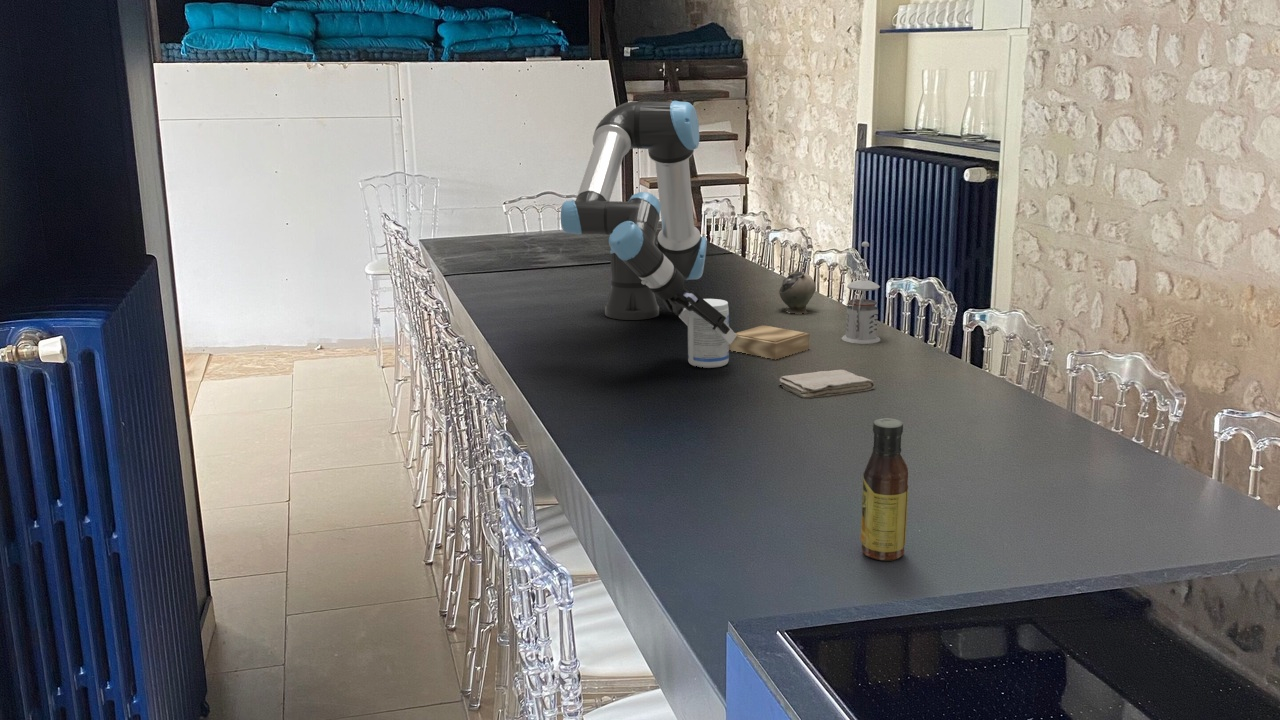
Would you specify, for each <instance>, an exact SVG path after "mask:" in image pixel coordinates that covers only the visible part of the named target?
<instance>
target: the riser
mask: <svg viewBox="0 0 1280 720" xmlns="http://www.w3.org/2000/svg"><path fill="white" fill-rule="evenodd" d="M734 333H735V334H736V335H737V336H736V338H735V339H734V340H733V342H732V343H731V344H729V350H731V351H730V352H733V351H736V352H735V353H737V352H742V353H746V354H745V355H747V354H751V355H750V356H752V355H757V356H761V357H760V358H762V357H765V358H764V359H767V358H771V359H770V360H772V359H775V360H774V361H777V360H776V359H778V360H780V359H779V358H781V359H783V358H782V357H784V358H786V357H785V356H787V357H789V355H790V356H792V354H793V355H796V354H799V353H802V351H803V352H805V350H806V351H808V349H809V350H810V333H808V332H804V331H798V330H792V329H787V328H783V327H782V328H781V327H775V326H771V325H759V326H756V327H752V328H749V329H745V330H741V331H738V332H734ZM798 352H799V353H798ZM742 353H741V354H742ZM795 353H796V354H795ZM757 356H756V357H757Z"/></svg>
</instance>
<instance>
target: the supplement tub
mask: <svg viewBox="0 0 1280 720" xmlns="http://www.w3.org/2000/svg"><path fill="white" fill-rule="evenodd" d="M703 299H704V300H705V301H706V302H707V303H709V304H710V305H711V306H712V307H713V308H715V309H716V310H717V311H718V312H720V313H721V314H722V315H723V316H725V317H726V319H725V321H724V322H725V323H726V324H727V325H728V326H729V327H730V311H729V309H730V308H729V302H728V301H727V300H724V299H720V298H719V299H718V298H703ZM690 305H691V304H689V306H690ZM712 328H713V325H712V324H710V323H709V322H708V321H706V320H705V319H703V318H702V317H701V316H699V315H698V314H696V313H695V312H694V311H688V326H687V361H688V363H689V365H691V366H693V367H696V366H697V367H696V368H698V367H699V368H702V367H703V369H706V368H707V369H711V368H712V369H713V368H714V369H715V368H720V367H723V366H726V365H727V364H728V363H729V360H730V355H729V353H730V351H729V344H728V343H727V342H726V341H725V340H724V339H723V338H722V337H721V336H720V335H719V333H718V332H717V331H716V330H713V329H712Z"/></svg>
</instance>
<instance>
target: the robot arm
mask: <svg viewBox="0 0 1280 720" xmlns="http://www.w3.org/2000/svg"><path fill="white" fill-rule="evenodd" d="M699 129H700V123H699V119H698V114H697V111H696V108H695V106H694V105H693V104H692V103H691V102H688V101H678V100H672V101H646V100H645V101H638V100H635V101H633V100H632V101H628V102H624V103H621V104H620V105H618V106H617V107H614V108H613V109H612V110H610V111H609V112H608V113H607V114H606V115H604V116H603V118H602V119H601V120H599V123H598V124H597V126H596V128H595V130H594V132H593V135H592V144H593V147H592V152H591V154H590V158H589V160H588V163H587V165H586V169H585V172H584V175H583V178H582V181H581V183H580V187H579V190H578V192H577V194H576V195H577V196H576V198H575V199H571V200H566V201H564V202H563V203H562V205H561V209H560V225H561V228H562V230H563V232H564V233H566V234H572V235H579V236H583V235H587V236H589V235H590V236H591V235H593V236H594V235H596V236H598V235H599V236H601V235H603V236H604V235H606V236H608V235H609V237H608V246H609V247H610V251H609V254H610V291H609V295H608V297H607V302H606V304H605V307H604V315H605V317H608V318H609V319H610V318H611V319H613V320H620V321H621V320H624V321H639V320H649V319H653V318H657V317H659V315H660V306H659V304H658V303H657V299H659V300H661V301H662V303H663V304H664V306H665V308H666V310H667V311H668V312H669V313H673V314H674V315H675V316H678V318H679V319H680V320H681V321H682V322H683V323H684V324H685V325H686V326H687V327H688V311H694V312H695V313H696V314H698V315H699V316H701V317H702V318H703V319H705V320H706V321H708V322H709V323H710V324H712V325H713V328H712V329H713V330H716V331H717V332H718V333H719V335H720V336H721V337H722V338H723V339H724V340H725V341H726V342H727V343H728V344H731V343H732V342H733V340H734V339H735V338H736V336H737V335H736V334H735V333H736V332H734V330H733V329H732V328H731V327H730V325H729V326H728V325H727V324H726V323H725V322H724V321H725V319H726V317H725V316H723V315H722V314H721V313H720V312H718V311H717V310H716V309H715V308H713V307H712V306H711V305H710V304H709V303H707V302H706V301H705V300H704V299H705V298H702V297H701V296H700V295H699V293H697V291H695V290H692V291H691V290H689V288H686V287H685V286H684V285H685V284H684V283H685V281H688V280H689V281H690V280H699V279H701V278H702V276H703V273H704V269H705V262H706V256H707V248H708V247H707V245H708V239H707V237H704V236H701V232H700V230H699V229H698V228H697V227H696V226H695V222H694V209H693V196H692V183H691V172H690V171H691V170H690V158H691V157H692V156H693V155H694V152H695V150H696V149H698V148H699V144H700V130H699ZM632 149H637V150H643V149H644V150H647V152H648V156H649V158H650V160H652V161H653V162H654V163H655V173H656V181H657V183H656V184H657V189H658V190H657V191H658V198H657V197H656V195H654V194H653V193H650V192H647V191H639V192H637V193H634V194H632V195H631V196H630V198H629V199H628V201H616V200H615V201H612V200H611V198H612V193H613V191H614V189H615V184H616V182H617V178H618V175H619V172H620V168H621V165H622V162H623V159H624V156H626V155H627V154H628V153H629V151H630V150H632ZM610 200H611V201H610ZM660 219H661V229H660V231H659V232H658V235H657V234H656V233H657V230H658V226H659V222H660ZM656 235H657V236H656ZM656 297H657V298H656ZM689 304H691V305H690V306H689Z"/></svg>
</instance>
